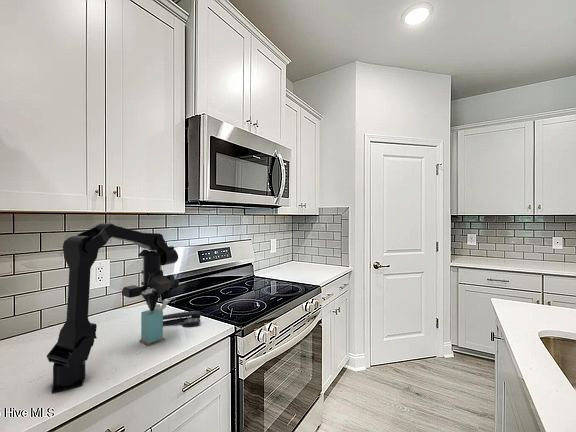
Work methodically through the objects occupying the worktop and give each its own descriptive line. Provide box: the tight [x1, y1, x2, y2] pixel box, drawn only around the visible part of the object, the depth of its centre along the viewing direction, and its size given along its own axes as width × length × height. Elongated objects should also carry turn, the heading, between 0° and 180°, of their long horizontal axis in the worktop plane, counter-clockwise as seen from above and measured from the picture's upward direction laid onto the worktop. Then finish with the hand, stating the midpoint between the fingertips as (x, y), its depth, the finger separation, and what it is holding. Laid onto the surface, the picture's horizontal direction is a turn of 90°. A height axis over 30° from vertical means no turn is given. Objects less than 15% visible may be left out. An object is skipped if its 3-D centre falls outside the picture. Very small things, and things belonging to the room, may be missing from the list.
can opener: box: [163, 310, 202, 328], centre depth 121 cm, size 18×7×6 cm, turn 95°
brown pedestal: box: [138, 337, 165, 347], centre depth 105 cm, size 6×6×5 cm
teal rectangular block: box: [140, 309, 164, 343], centre depth 105 cm, size 5×5×10 cm
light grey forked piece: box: [155, 298, 170, 312], centre depth 130 cm, size 7×2×8 cm, turn 80°
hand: (152, 310), depth 105 cm, fingers closed
